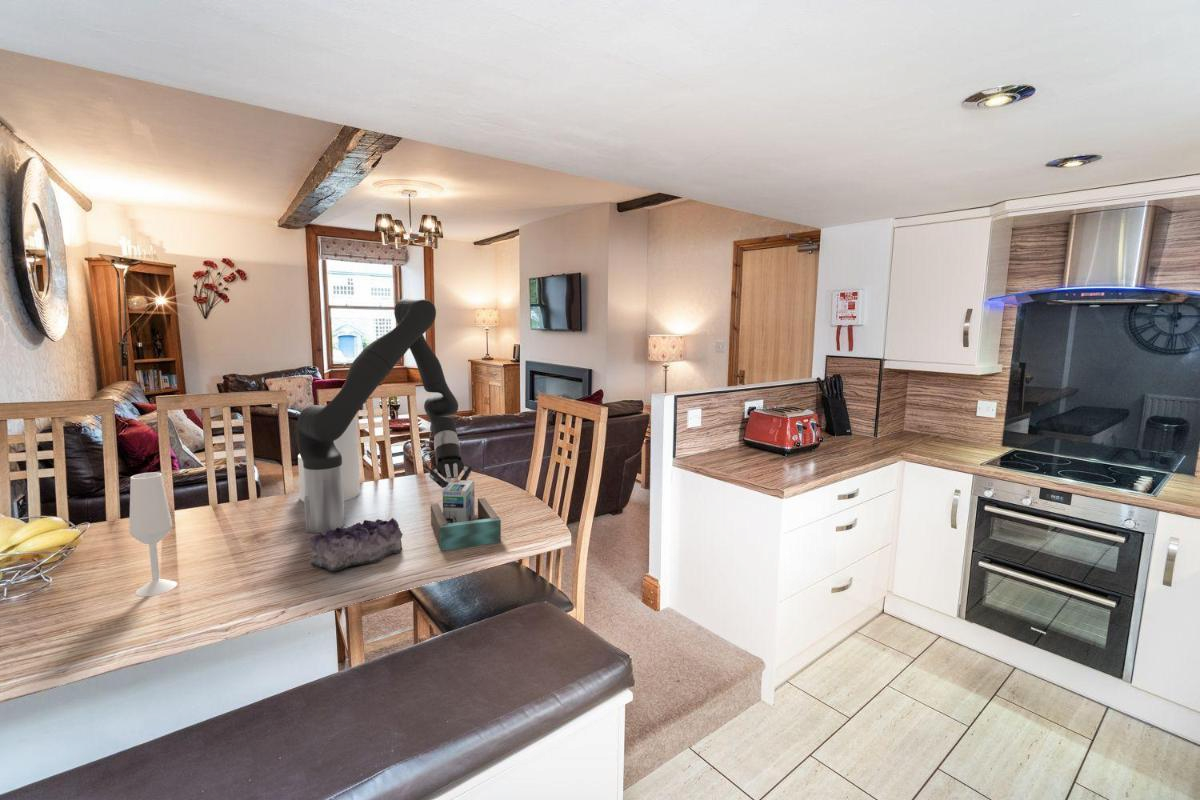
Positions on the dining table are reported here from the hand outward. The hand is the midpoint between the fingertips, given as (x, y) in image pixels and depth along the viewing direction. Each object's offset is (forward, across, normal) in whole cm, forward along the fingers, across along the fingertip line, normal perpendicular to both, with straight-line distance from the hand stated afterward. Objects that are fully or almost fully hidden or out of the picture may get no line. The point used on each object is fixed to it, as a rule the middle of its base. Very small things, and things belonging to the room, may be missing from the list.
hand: (454, 498), depth 157 cm
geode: (+19, -26, -12) cm, 35 cm away
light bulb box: (+8, 0, -1) cm, 8 cm away
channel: (+14, 0, -8) cm, 16 cm away
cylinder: (-19, -34, +26) cm, 47 cm away
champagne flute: (+20, -64, -13) cm, 68 cm away
